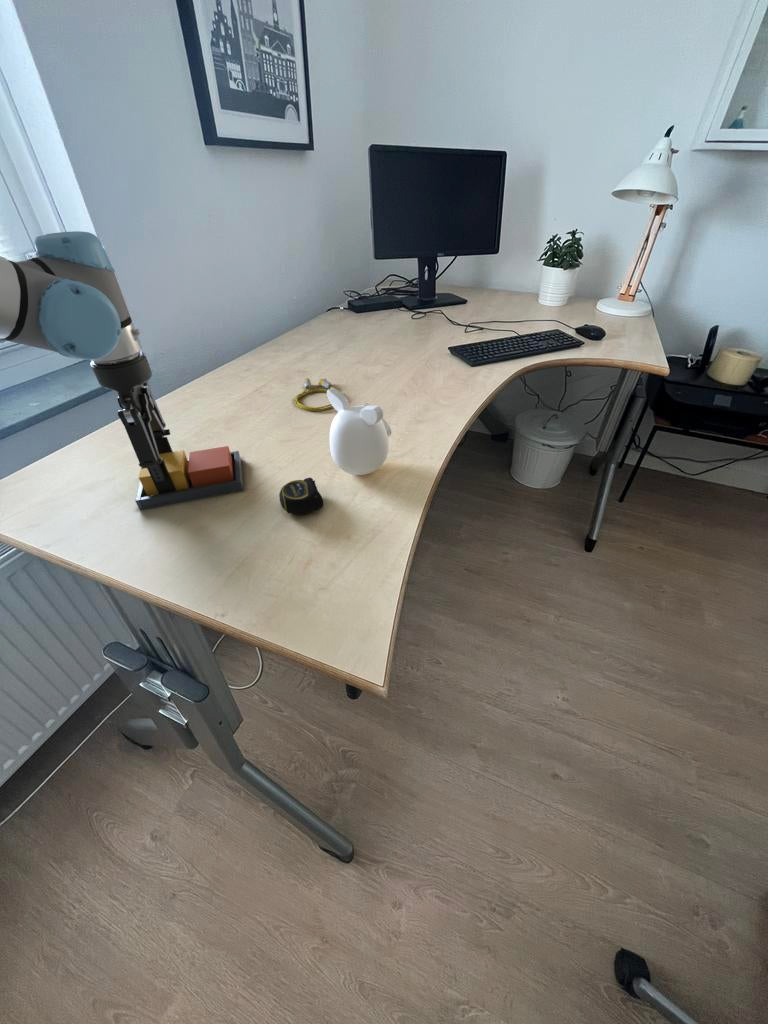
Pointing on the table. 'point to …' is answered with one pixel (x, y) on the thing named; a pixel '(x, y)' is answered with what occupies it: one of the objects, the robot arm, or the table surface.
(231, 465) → the pad terracotta
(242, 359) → the table surface
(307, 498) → the tape measure
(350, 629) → the table surface
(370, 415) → the white bunny figurine
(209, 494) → the tray
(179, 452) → the pad mustard
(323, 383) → the coiled yellow cable
